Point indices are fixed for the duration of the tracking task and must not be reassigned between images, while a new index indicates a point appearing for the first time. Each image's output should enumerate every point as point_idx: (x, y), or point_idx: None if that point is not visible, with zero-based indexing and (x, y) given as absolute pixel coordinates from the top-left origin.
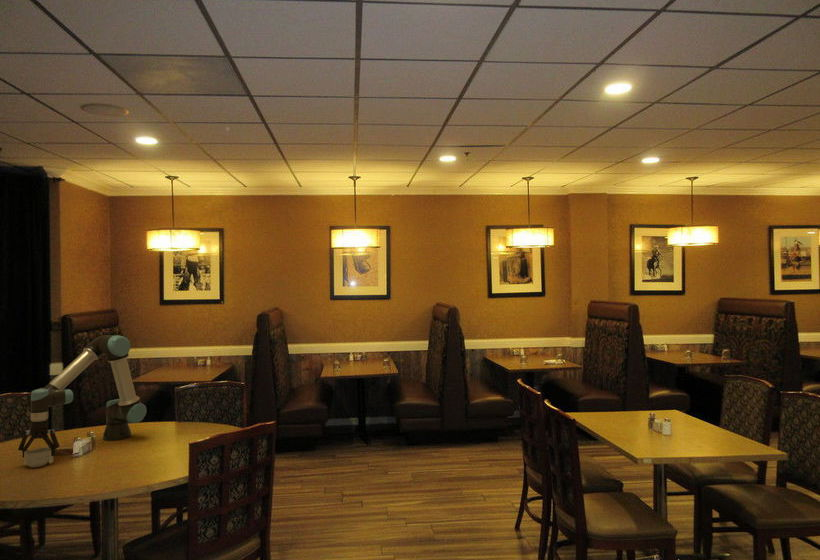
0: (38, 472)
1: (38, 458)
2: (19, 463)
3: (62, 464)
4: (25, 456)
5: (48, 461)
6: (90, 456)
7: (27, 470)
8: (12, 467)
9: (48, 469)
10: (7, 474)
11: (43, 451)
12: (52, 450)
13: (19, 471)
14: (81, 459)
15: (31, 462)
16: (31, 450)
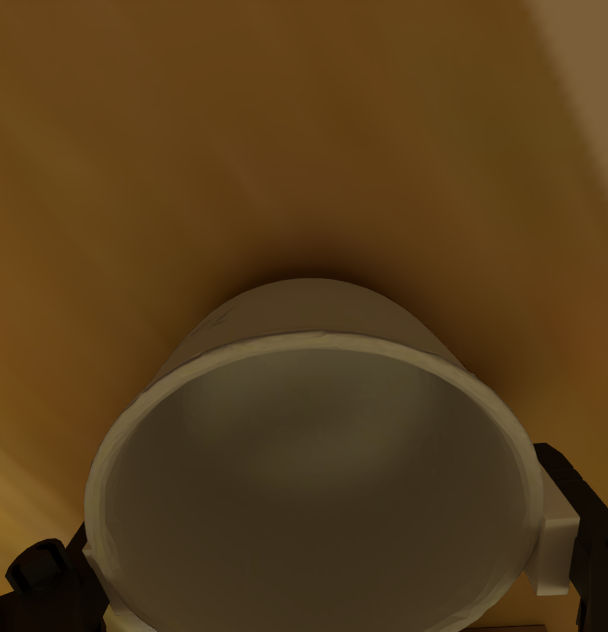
0: (100, 106)
1: (195, 333)
2: (578, 461)
3: (65, 404)
4: (454, 358)
5: (203, 426)
6: (7, 588)
7: (323, 206)
8: (595, 336)
9: (72, 236)
10: (518, 13)
11: (320, 593)
12: (79, 561)
13: (410, 165)
14: (12, 527)
15: (300, 281)
16: (484, 588)
